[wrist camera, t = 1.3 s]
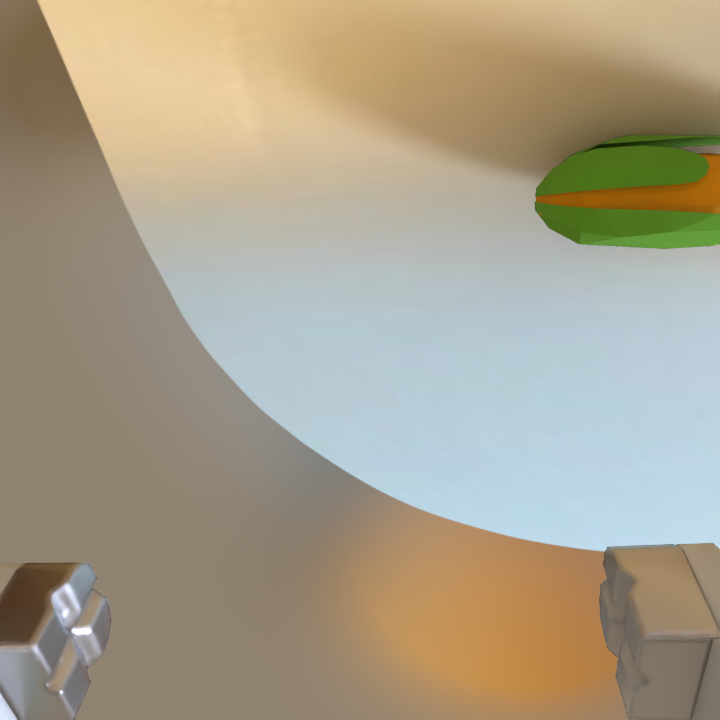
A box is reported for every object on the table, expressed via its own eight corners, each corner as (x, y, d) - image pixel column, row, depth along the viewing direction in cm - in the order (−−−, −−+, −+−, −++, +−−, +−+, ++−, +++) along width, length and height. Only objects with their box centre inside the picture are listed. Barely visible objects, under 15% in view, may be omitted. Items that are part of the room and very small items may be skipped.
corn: (529, 182, 44) (899, 172, 37) (539, 122, 48) (868, 105, 42) (530, 270, 49) (855, 275, 43) (539, 209, 54) (832, 205, 47)
